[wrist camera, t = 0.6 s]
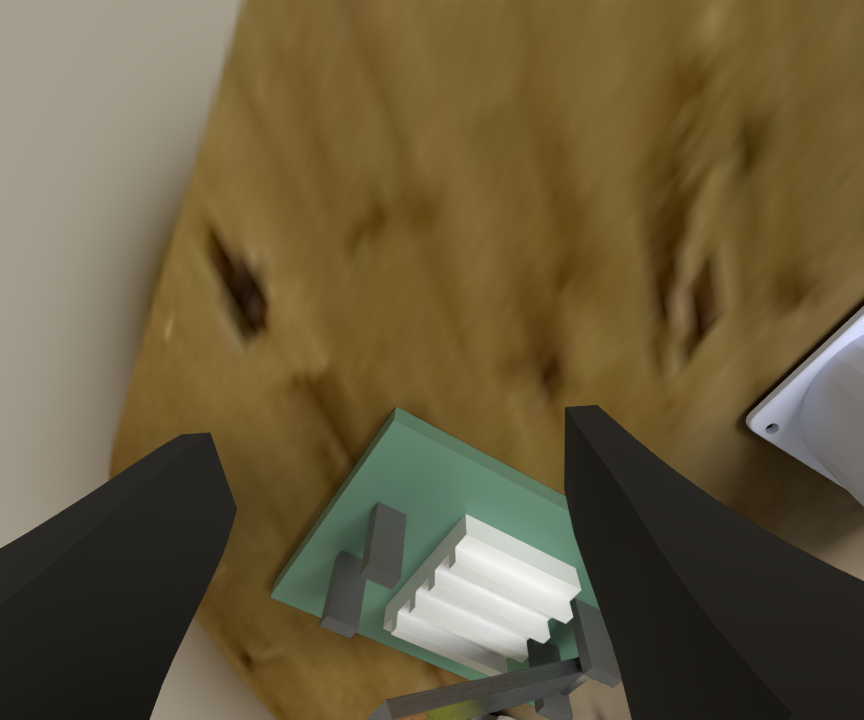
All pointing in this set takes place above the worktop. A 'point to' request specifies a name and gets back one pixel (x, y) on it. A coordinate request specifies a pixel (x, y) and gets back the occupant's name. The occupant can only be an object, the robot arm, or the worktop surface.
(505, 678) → the bar
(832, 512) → the worktop surface
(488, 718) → the electrical component
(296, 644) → the worktop surface
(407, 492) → the heatsink base
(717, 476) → the worktop surface
